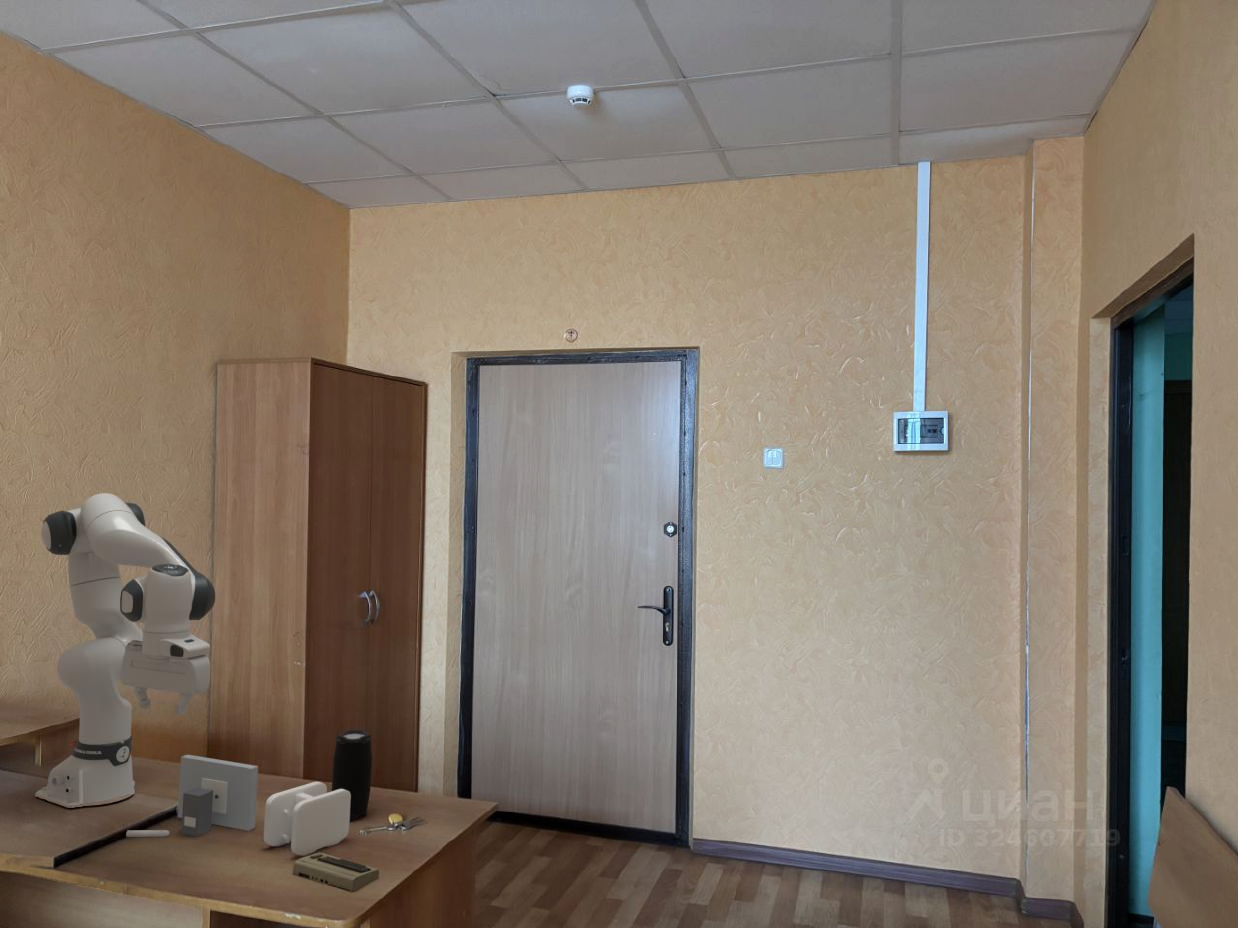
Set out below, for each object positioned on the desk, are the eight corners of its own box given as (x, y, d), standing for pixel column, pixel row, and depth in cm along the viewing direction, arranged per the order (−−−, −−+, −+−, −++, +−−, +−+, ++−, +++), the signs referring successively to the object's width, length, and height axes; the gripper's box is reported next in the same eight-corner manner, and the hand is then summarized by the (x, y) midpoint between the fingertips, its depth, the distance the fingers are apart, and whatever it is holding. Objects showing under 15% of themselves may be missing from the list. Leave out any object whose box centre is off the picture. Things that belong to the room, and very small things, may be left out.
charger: (180, 833, 199) (183, 793, 199) (198, 825, 204) (200, 785, 204) (197, 836, 198) (199, 796, 198) (214, 828, 203) (216, 788, 203)
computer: (379, 878, 182) (380, 862, 182) (352, 894, 175) (353, 877, 175) (320, 862, 189) (321, 846, 189) (291, 876, 181) (292, 860, 182)
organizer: (291, 862, 187) (294, 806, 187) (261, 848, 193) (263, 794, 193) (349, 840, 200) (352, 788, 200) (319, 828, 206) (321, 777, 206)
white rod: (126, 838, 196) (126, 831, 196) (128, 835, 197) (128, 829, 197) (167, 837, 197) (168, 831, 197) (170, 835, 198) (170, 828, 198)
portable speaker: (343, 806, 219) (348, 726, 220) (376, 812, 216) (381, 731, 217) (322, 818, 211) (326, 735, 212) (355, 824, 208) (360, 740, 209)
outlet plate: (176, 817, 208) (179, 757, 208) (184, 814, 210) (187, 754, 210) (247, 831, 202) (250, 769, 202) (254, 827, 204) (258, 766, 204)
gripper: (114, 641, 185) (110, 708, 185) (194, 651, 179) (190, 720, 179) (138, 636, 191) (135, 701, 191) (217, 645, 185) (213, 713, 185)
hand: (162, 710), depth 185 cm, fingers open, 8 cm apart
